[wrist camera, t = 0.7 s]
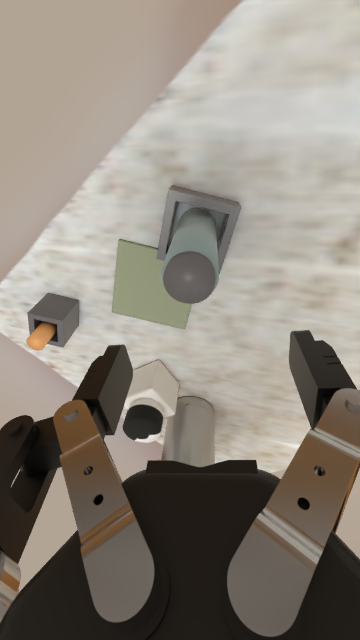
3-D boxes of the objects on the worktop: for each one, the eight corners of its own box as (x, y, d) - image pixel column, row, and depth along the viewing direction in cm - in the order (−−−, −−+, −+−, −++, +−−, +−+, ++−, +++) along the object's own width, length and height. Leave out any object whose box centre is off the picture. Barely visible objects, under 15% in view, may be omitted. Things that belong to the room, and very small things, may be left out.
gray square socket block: (78, 325, 47) (63, 347, 42) (49, 318, 47) (30, 340, 42) (79, 300, 45) (62, 321, 40) (48, 293, 44) (27, 312, 39)
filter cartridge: (210, 250, 38) (209, 312, 25) (174, 241, 38) (154, 299, 25) (220, 213, 35) (227, 260, 22) (182, 203, 35) (165, 245, 22)
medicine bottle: (128, 371, 52) (108, 427, 42) (159, 358, 50) (145, 414, 40) (149, 395, 56) (136, 451, 46) (180, 383, 53) (172, 441, 43)
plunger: (61, 329, 44) (44, 351, 39) (46, 325, 44) (27, 348, 39) (61, 316, 42) (43, 338, 38) (45, 313, 42) (25, 334, 38)
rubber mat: (184, 327, 46) (184, 329, 45) (112, 310, 45) (111, 312, 45) (203, 259, 39) (203, 261, 38) (119, 239, 38) (118, 240, 38)
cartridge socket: (218, 265, 39) (219, 274, 37) (159, 250, 39) (156, 258, 36) (238, 202, 34) (241, 207, 32) (171, 185, 34) (168, 189, 32)
